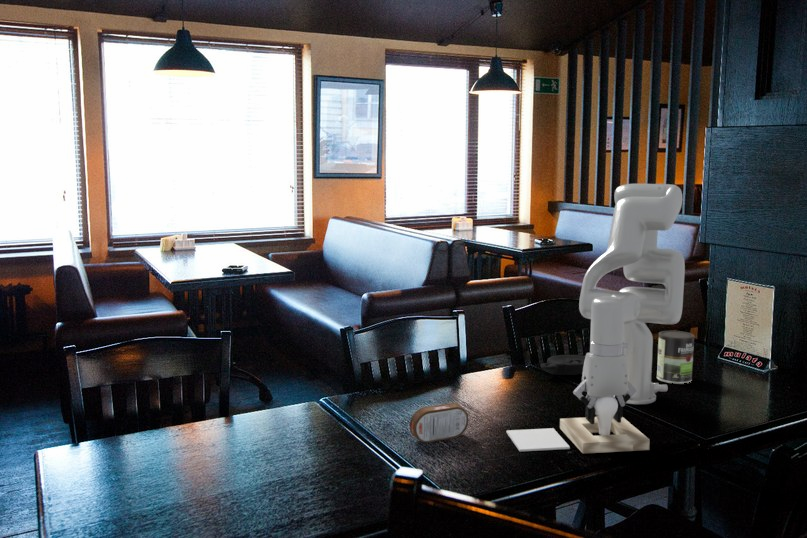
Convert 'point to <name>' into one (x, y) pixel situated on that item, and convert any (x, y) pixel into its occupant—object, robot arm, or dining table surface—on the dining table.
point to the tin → (439, 422)
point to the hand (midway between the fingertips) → (603, 420)
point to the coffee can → (675, 357)
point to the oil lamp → (564, 364)
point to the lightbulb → (605, 412)
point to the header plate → (603, 436)
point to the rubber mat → (537, 439)
